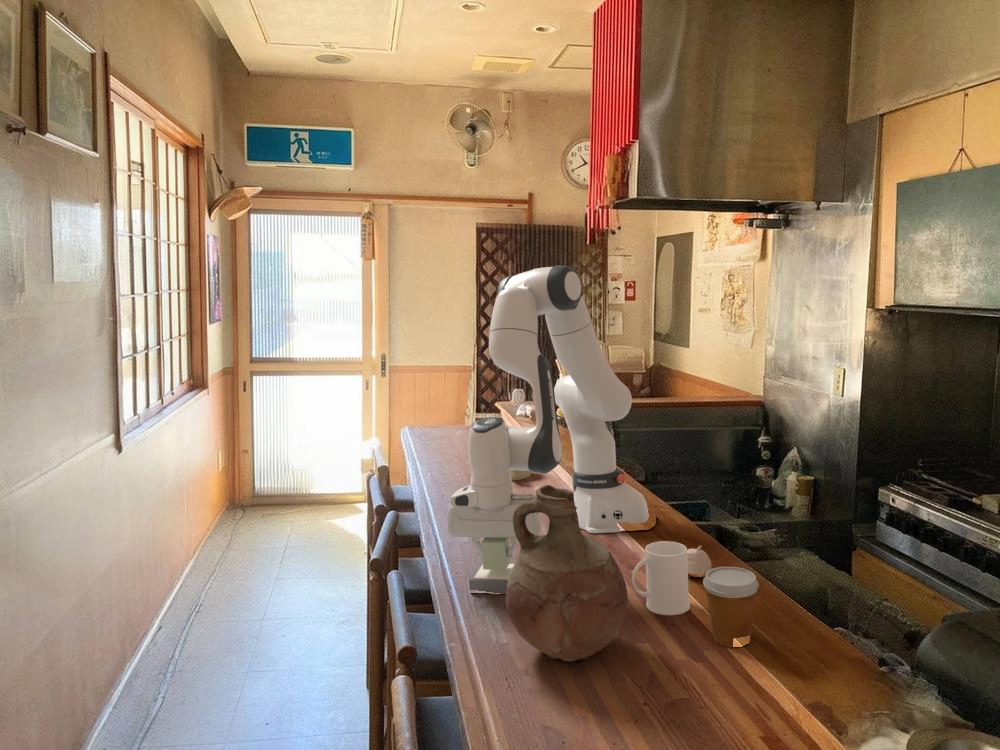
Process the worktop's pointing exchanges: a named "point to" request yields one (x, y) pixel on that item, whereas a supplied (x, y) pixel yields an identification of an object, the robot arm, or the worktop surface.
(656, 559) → the mug
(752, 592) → the disposable coffee cup
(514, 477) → the sugar bowl
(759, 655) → the worktop surface
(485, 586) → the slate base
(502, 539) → the green block
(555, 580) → the jug
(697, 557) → the garlic bulb
